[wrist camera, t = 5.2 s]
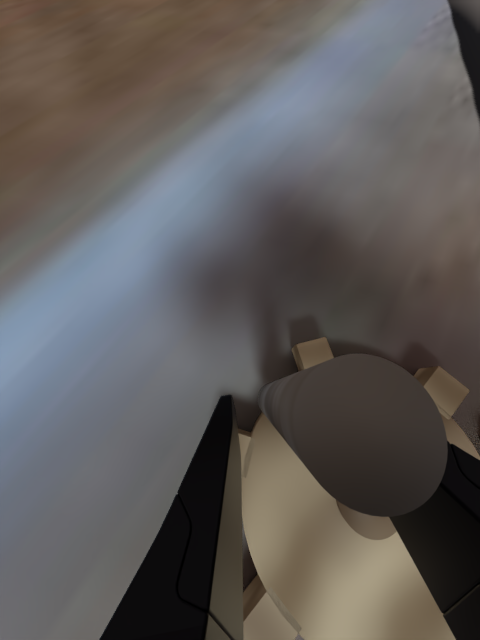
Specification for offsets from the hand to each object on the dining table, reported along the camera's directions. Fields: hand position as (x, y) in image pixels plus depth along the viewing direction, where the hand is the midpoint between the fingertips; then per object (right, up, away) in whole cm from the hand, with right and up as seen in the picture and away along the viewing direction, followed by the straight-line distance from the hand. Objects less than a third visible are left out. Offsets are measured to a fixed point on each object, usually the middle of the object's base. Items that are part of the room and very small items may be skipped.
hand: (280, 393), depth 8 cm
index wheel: (+7, -9, +8) cm, 14 cm away
